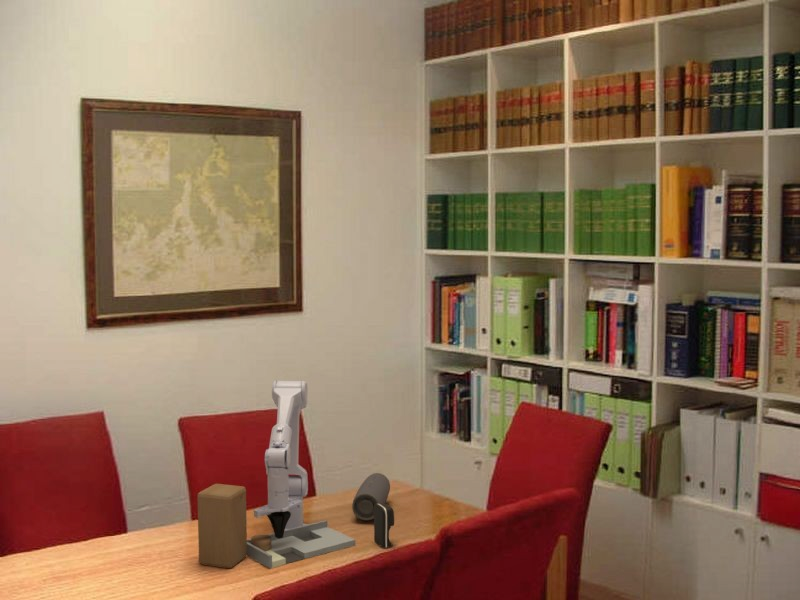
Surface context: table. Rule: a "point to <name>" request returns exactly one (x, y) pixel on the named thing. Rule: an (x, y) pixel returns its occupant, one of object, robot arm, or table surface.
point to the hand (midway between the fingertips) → (279, 537)
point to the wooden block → (222, 525)
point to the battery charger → (383, 524)
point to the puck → (262, 542)
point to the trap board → (300, 544)
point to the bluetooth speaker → (370, 495)
